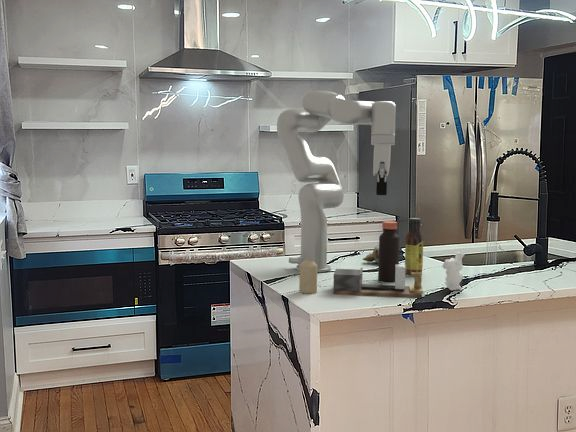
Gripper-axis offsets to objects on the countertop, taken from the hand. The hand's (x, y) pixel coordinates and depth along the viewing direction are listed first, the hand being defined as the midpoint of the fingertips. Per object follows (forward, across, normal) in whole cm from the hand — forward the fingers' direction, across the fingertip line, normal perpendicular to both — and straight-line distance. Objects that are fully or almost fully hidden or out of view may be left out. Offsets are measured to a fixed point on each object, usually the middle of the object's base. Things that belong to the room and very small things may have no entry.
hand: (381, 193), depth 217 cm
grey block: (+29, +9, +1) cm, 30 cm away
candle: (+31, +13, -22) cm, 40 cm away
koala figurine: (+31, +1, +24) cm, 39 cm away
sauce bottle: (+31, -22, +12) cm, 39 cm away
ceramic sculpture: (+31, -40, +1) cm, 50 cm away
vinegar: (+31, -9, +3) cm, 32 cm away
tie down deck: (+30, +9, 0) cm, 32 cm away
